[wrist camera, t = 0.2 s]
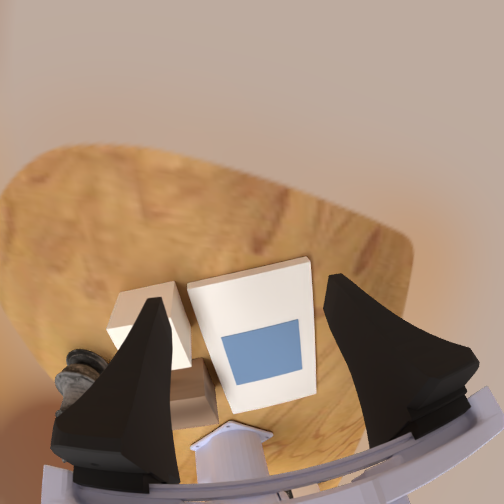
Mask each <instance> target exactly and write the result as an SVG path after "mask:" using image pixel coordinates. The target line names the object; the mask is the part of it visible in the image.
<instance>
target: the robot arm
mask: <svg viewBox="0 0 504 504" xmlns="http://www.w3.org/2000/svg"><path fill="white" fill-rule="evenodd" d="M323 309H324V313H325V316H326V319H327V322H328V325H329V328H330V330H331V332H332V334H333V336H334V338H335V340H336V342H337V345H338V347H339V349H340V351H341V353H342V355H343V357H344V359H345V361H346V363H347V365H348V368H349V370H350V373H351V375H352V378H353V381H354V384H355V387H356V391H357V394H358V397H359V401H360V404H361V408H362V412H363V416H364V421H365V425H366V430H367V435H368V441H369V447H370V449H369V450H366V451H363V452H360V453H357V454H354V455H351V456H348V457H345V458H342V459H338V460H335V461H332V462H328V463H325V464H321V465H317V466H313V467H309V468H305V469H301V470H297V471H292V472H287V473H282V474H277V475H272V476H269V472H268V468H267V463H266V459H265V455H264V451H263V447H262V443H263V442H264V441H266V440H268V439H269V438H271V437H272V436H273V433H272V432H268V431H264V430H261V429H257V428H254V427H250V426H247V425H244V424H241V423H237V422H234V421H228V422H227V423H225V424H224V425H222V426H221V427H219V428H218V429H216V430H215V431H213V432H212V433H210V434H209V435H207V436H205V437H204V438H202V439H201V440H199V441H198V442H196V443H194V444H193V445H191V446H190V449H191V450H194V451H195V456H196V468H197V479H198V484H179V483H180V477H179V472H178V467H177V461H176V455H175V448H174V441H173V432H172V423H171V410H170V385H171V369H172V354H173V343H172V328H171V325H170V322H169V319H168V316H167V313H166V309H165V306H164V303H163V300H162V297H153V298H147V300H146V301H145V303H144V305H143V307H142V309H141V311H140V313H139V315H138V317H137V319H136V321H135V323H134V324H133V326H132V328H131V330H130V331H129V333H128V335H127V337H126V338H125V340H124V342H123V343H122V345H121V346H120V348H119V350H118V351H117V353H116V354H115V356H114V357H113V359H112V360H111V362H110V363H109V364H108V366H107V367H106V368H105V370H104V371H103V372H102V373H101V375H100V376H99V377H98V378H97V380H96V381H95V382H94V383H93V384H92V385H91V386H90V388H89V389H88V390H87V391H86V392H85V393H84V394H83V395H82V396H81V397H80V398H79V399H78V400H77V401H76V402H75V403H74V404H72V405H71V406H70V407H69V408H68V409H67V410H65V411H64V412H63V413H62V414H60V415H59V416H58V417H57V418H55V422H54V426H53V432H52V439H51V447H50V449H51V450H52V451H53V452H54V454H56V455H57V456H59V457H60V458H62V459H64V460H65V461H67V462H69V463H70V464H72V465H74V471H70V470H66V469H63V468H58V467H53V466H49V465H44V470H43V482H42V499H41V504H410V501H409V499H408V496H407V494H409V493H411V492H413V491H414V490H416V489H418V488H420V487H422V486H424V485H425V484H427V483H429V482H431V481H432V480H434V479H435V478H437V477H439V476H441V475H442V474H444V473H445V472H447V471H449V470H450V469H452V468H453V467H455V466H456V465H458V464H459V463H460V462H462V461H463V460H465V459H466V458H468V457H469V456H470V455H472V454H473V453H474V452H476V451H477V450H478V449H480V448H481V447H482V446H484V445H485V444H486V443H487V442H489V441H490V440H491V439H492V438H494V437H495V436H496V435H497V434H498V433H500V432H501V431H502V430H503V429H504V414H503V412H502V410H501V408H500V406H499V405H498V403H497V402H496V400H495V398H494V396H493V394H492V393H491V391H490V389H489V388H488V386H485V387H484V388H482V389H481V390H479V391H477V392H476V393H474V394H473V395H471V396H470V397H469V398H468V399H467V398H466V396H465V394H466V393H467V389H466V388H465V386H464V385H465V384H466V383H467V382H468V381H469V380H470V378H471V377H472V376H473V375H474V374H475V372H476V371H477V369H478V367H479V361H478V359H477V358H476V356H475V355H474V353H473V352H472V350H471V349H470V348H468V347H465V346H461V345H458V344H455V343H452V342H449V341H446V340H444V339H441V338H439V337H436V336H434V335H432V334H429V333H427V332H425V331H423V330H421V329H419V328H417V327H415V326H414V325H412V324H410V323H408V322H407V321H405V320H403V319H402V318H400V317H398V316H397V315H395V314H394V313H392V312H391V311H390V310H388V309H387V308H385V307H384V306H382V305H381V304H380V303H378V302H377V301H376V300H374V299H373V298H372V297H371V296H369V295H368V294H367V293H366V292H364V291H363V290H362V289H361V288H359V287H358V286H357V285H356V284H354V283H353V282H352V281H351V280H349V279H348V278H347V277H346V276H344V275H343V274H342V273H340V274H334V275H329V278H328V284H327V290H326V296H325V301H324V307H323ZM385 460H386V461H385ZM383 461H384V462H383ZM380 462H382V463H380ZM378 463H380V464H378ZM375 464H378V465H376V466H373V465H375ZM370 466H373V467H371V468H369V469H367V470H365V471H364V473H363V474H361V475H360V476H358V477H356V478H355V479H353V480H352V481H351V482H352V483H349V484H345V485H342V486H339V487H335V488H332V489H328V490H324V491H321V492H317V493H313V494H309V495H305V496H301V497H297V498H292V499H289V497H288V495H287V493H286V492H284V491H287V490H292V489H296V488H301V487H305V486H309V485H313V484H317V483H321V482H324V481H328V480H331V479H335V478H338V477H341V476H344V475H347V474H350V473H353V472H356V471H359V470H362V469H365V468H367V467H370ZM184 501H205V502H184Z"/></svg>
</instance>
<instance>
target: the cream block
mask: <svg viewBox="0 0 504 504" xmlns="http://www.w3.org/2000/svg"><path fill="white" fill-rule="evenodd" d="M153 297H162V300H163V303H164V306H165V309H166V313H167V316H168V319H169V322H170V325H171V328H172V343H173V354H172V369H171V370H176V369H182V368H188V367H192V361H191V326H190V323H189V321H188V318H187V315H186V312H185V310H184V307H183V304H182V301H181V298H180V295H179V292H178V290H177V287H176V284H175V281H171V282H166V283H162V284H157V285H152V286H148V287H143V288H138V289H134V290H129V291H124V292H120V293H119V295H118V298H117V301H116V303H115V306H114V309H113V311H112V314H111V317H110V320H109V323H108V325H107V328H106V330H107V332H108V334H109V335H110V337H111V339H112V341H113V343H114V344H115V346H116V348H117V350H119V348H120V346H121V345H122V343H123V342H124V340H125V338H126V337H127V335H128V333H129V331H130V330H131V328H132V326H133V324H134V323H135V321H136V319H137V317H138V315H139V313H140V311H141V309H142V307H143V305H144V303H145V301H146V300H147V298H153Z"/></svg>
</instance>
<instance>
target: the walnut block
mask: <svg viewBox="0 0 504 504" xmlns="http://www.w3.org/2000/svg"><path fill="white" fill-rule="evenodd" d="M191 361H192V367H188V368H182V369H176V370H171V385H170V410H171V423H172V430H178V429H186V428H194V427H201V426H208V425H214V424H219V419H218V410H217V402H216V393H215V387H214V384H213V382H212V380H211V377H210V375H209V372H208V370H207V367H206V365H205V363H204V360H203V358H196V359H191Z"/></svg>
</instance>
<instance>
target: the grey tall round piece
mask: <svg viewBox="0 0 504 504" xmlns="http://www.w3.org/2000/svg"><path fill="white" fill-rule="evenodd" d="M66 361H67V365H68V366H67V367H66V368H64V369H63V370H62V371H61V372H60V373H59V374H57V376H56V377H55V384H56V387H57V389H58V391H59V392H60V393H61V394H62V395H63V401H62V405H61V408H60V410H58V411H57V412H56V418H57V417H58V416H59V415H60V414H62V413H63V412H64V411H65V410H67V409H68V408H69V407H70V406H71V405H72V404H74V403H75V402H76V401H77V400H78V399H79V398H80V397H81V396H82V395H83V394H84V393H85V392H86V391H87V390H88V389H89V388H90V386H91V385H92V384H93V383H94V382H95V381H96V380H97V378H98V377H99V376H100V375H101V373H102V372H103V371H104V370H105V368H106V367H107V366H108V364H107V362H106V361H105V360H104V359H103V358H102V357H100V356H99V355H97V354H95V353H93V352H91V351H88V350H83V349H77V350H73V351H71V352H69V354H68V355H67V359H66ZM62 461H63V462H64V463H65V462H67V461H65V460H64V459H62Z"/></svg>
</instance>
